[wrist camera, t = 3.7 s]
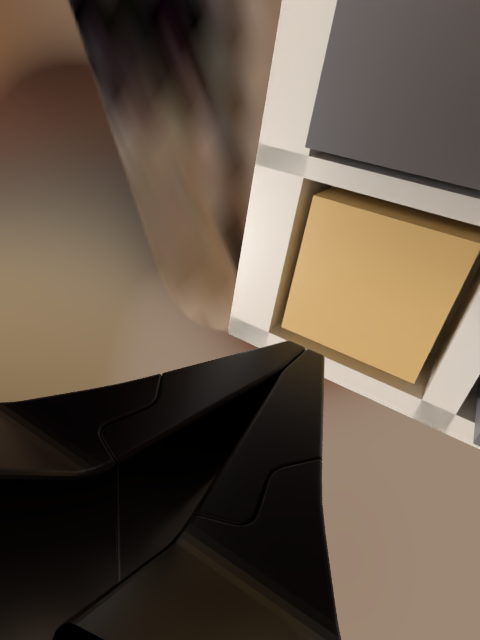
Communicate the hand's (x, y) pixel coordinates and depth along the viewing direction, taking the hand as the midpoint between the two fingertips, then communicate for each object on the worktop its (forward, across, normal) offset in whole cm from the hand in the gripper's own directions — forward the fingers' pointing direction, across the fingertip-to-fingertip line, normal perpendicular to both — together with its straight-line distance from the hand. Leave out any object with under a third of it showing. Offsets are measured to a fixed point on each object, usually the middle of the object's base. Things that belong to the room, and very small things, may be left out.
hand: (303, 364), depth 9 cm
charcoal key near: (+6, 0, -6) cm, 8 cm away
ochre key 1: (+7, 0, 0) cm, 7 cm away
